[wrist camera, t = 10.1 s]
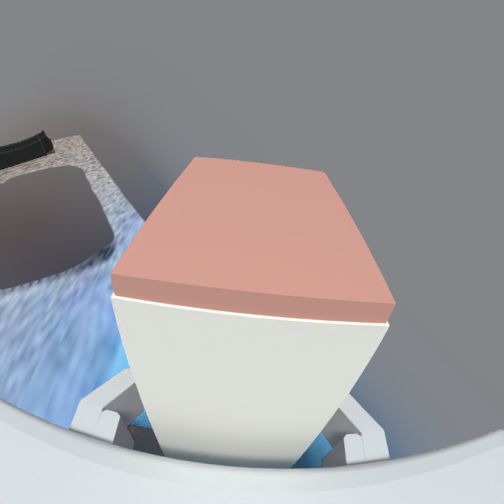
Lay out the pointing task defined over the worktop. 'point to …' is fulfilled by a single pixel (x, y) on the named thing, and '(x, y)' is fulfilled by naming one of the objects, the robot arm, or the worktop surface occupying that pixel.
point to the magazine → (25, 150)
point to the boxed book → (247, 312)
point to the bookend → (146, 441)
